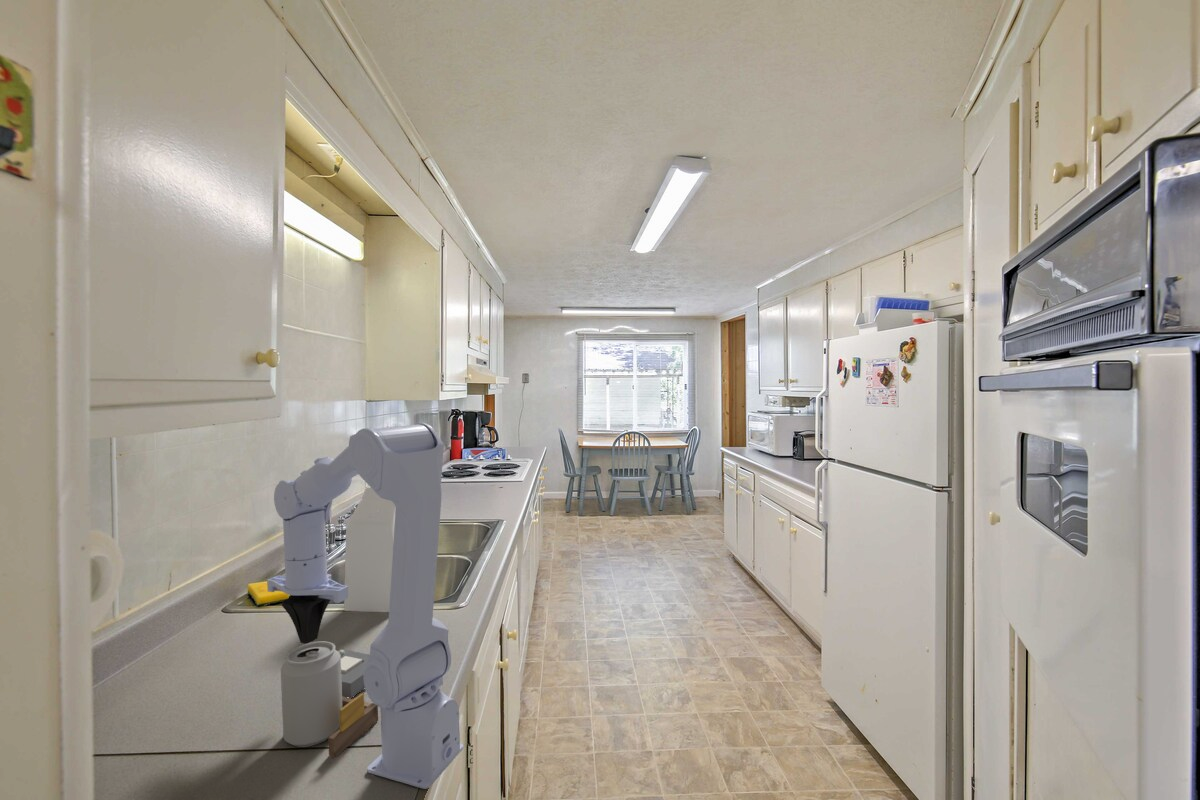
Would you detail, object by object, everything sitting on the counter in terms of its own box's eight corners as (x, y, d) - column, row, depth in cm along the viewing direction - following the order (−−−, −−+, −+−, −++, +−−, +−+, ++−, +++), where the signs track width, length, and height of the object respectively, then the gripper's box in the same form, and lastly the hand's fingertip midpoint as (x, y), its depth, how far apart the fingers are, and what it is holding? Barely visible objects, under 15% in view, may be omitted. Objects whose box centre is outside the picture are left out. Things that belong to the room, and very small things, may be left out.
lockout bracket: (378, 720, 79) (377, 684, 79) (334, 757, 72) (333, 717, 71) (325, 707, 82) (324, 672, 82) (278, 741, 75) (277, 702, 75)
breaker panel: (387, 672, 92) (386, 654, 92) (351, 699, 85) (350, 679, 84) (341, 662, 96) (340, 645, 95) (303, 687, 88) (302, 668, 88)
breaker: (362, 672, 91) (362, 659, 91) (345, 683, 88) (345, 670, 88) (345, 668, 92) (345, 655, 92) (328, 679, 89) (328, 666, 89)
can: (329, 709, 82) (326, 632, 81) (352, 730, 77) (349, 648, 77) (275, 735, 76) (271, 652, 76) (296, 759, 71) (292, 670, 71)
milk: (419, 591, 127) (416, 481, 126) (396, 612, 116) (393, 492, 115) (371, 589, 128) (367, 481, 127) (343, 610, 117) (339, 492, 116)
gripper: (362, 551, 85) (365, 635, 86) (293, 542, 90) (296, 622, 91) (325, 566, 78) (329, 657, 79) (253, 556, 83) (257, 642, 84)
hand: (309, 640), depth 84 cm, fingers closed
